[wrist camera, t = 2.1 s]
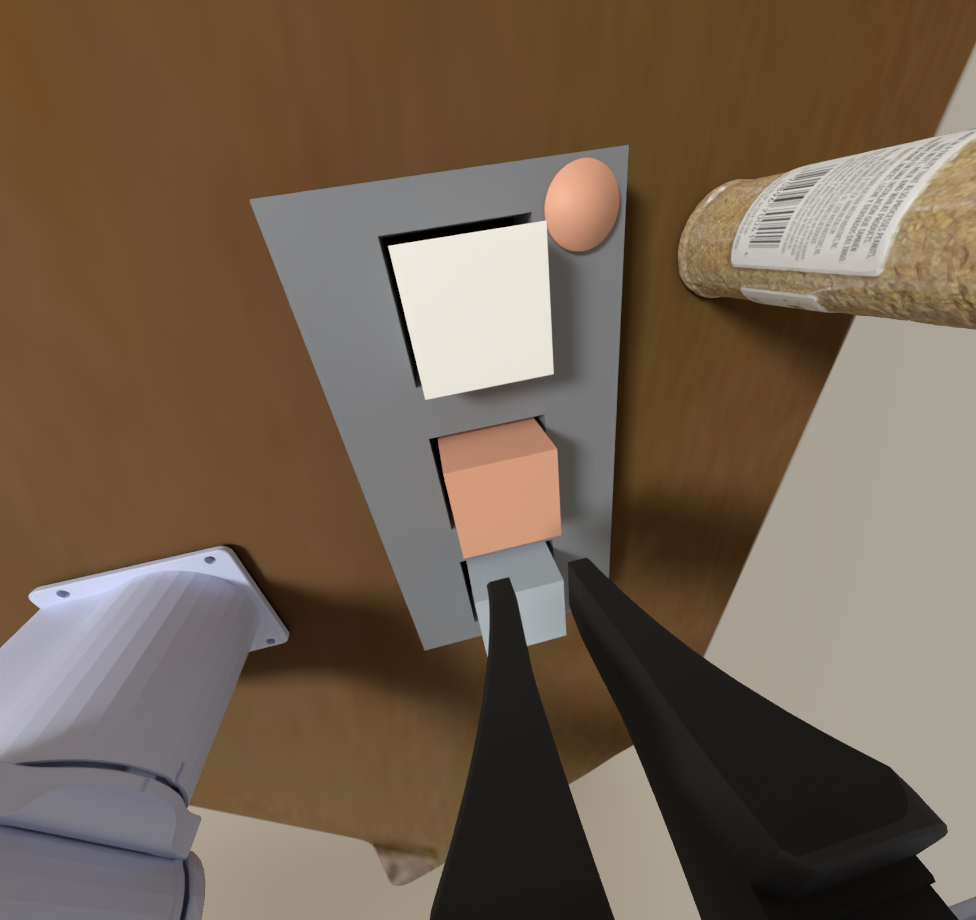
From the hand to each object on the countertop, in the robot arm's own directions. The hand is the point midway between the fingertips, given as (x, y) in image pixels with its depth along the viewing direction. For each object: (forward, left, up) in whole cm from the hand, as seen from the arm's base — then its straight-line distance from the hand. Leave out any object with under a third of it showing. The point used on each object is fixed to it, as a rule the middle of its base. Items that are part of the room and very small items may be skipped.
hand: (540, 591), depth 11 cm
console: (0, 0, -9) cm, 9 cm away
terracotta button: (0, 0, -8) cm, 8 cm away
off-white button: (0, +7, -8) cm, 11 cm away
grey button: (0, -8, -8) cm, 11 cm away
